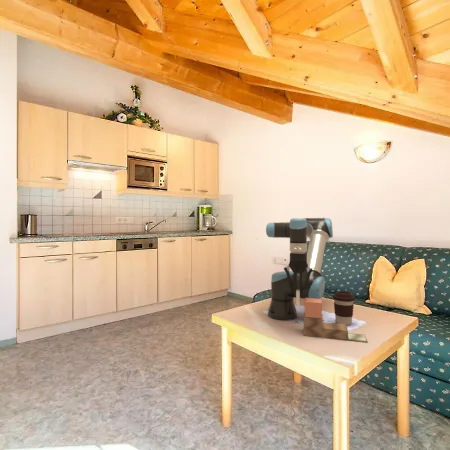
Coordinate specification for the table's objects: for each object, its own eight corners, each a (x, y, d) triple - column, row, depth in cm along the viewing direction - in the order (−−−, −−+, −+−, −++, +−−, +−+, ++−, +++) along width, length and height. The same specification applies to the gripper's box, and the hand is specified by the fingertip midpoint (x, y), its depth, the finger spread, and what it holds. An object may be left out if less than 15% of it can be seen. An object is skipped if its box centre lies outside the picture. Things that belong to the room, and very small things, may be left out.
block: (304, 317, 129) (304, 301, 129) (305, 312, 136) (305, 297, 136) (321, 319, 127) (321, 303, 127) (321, 314, 134) (321, 299, 133)
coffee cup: (352, 320, 148) (352, 290, 148) (356, 327, 138) (356, 295, 138) (331, 319, 150) (331, 289, 150) (334, 325, 141) (334, 294, 140)
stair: (303, 335, 129) (303, 317, 129) (304, 329, 136) (304, 312, 136) (367, 342, 121) (367, 323, 121) (364, 335, 129) (364, 317, 129)
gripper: (282, 252, 131) (282, 305, 132) (313, 253, 127) (312, 308, 127) (284, 251, 138) (284, 301, 139) (313, 252, 134) (313, 303, 135)
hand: (298, 304), depth 133 cm, fingers closed
